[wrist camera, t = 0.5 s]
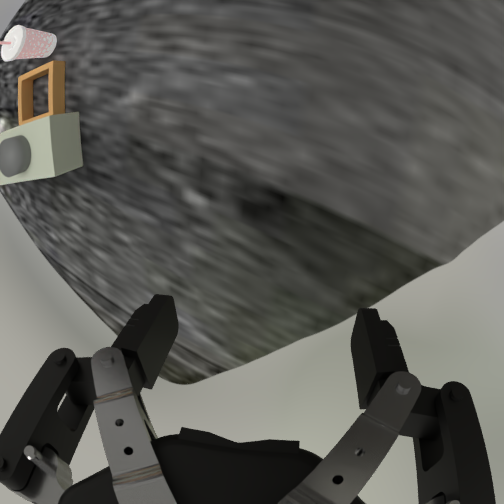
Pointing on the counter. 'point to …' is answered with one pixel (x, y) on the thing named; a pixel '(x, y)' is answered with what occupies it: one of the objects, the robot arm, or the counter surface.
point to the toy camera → (41, 132)
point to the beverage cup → (27, 44)
